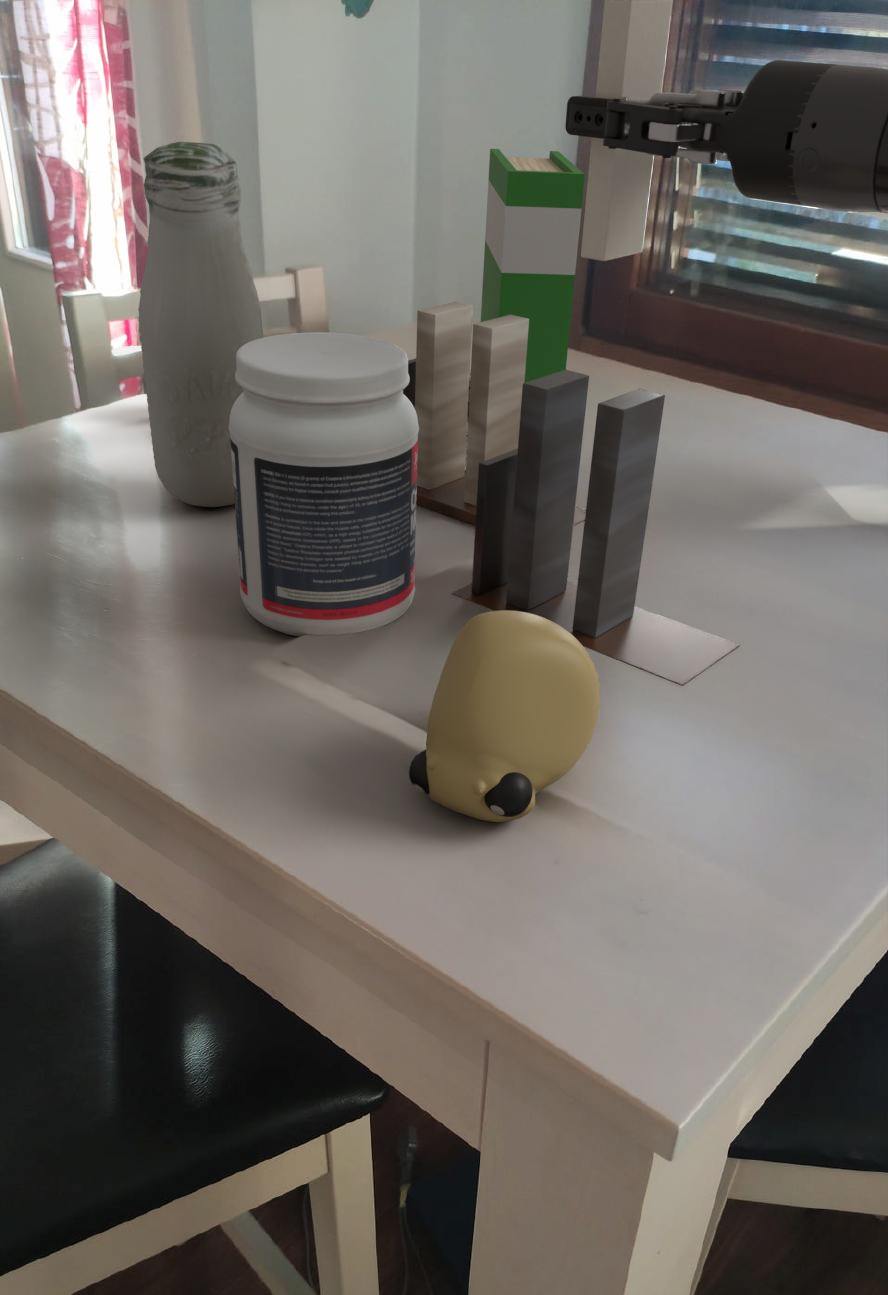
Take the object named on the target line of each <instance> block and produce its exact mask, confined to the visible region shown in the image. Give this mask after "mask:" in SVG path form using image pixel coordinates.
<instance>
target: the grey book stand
mask: <svg viewBox="0 0 888 1295" xmlns="http://www.w3.org/2000/svg"><path fill="white" fill-rule="evenodd" d="M589 383H590V375H588V374H586V373H585V374H584V373H581V372H578V371H573V370H568V369H566V370H563V371H560V372H557V373H554V374H551V375H548V376H545V377H542V378H538V379H535V380H532V381H529V382H526V383H523V387H522V401H521V414H520V427H519V440H518V449H515V450H512V451H510V452H507V453H504V454H502V455H499V456H496V457H494V458H491V459H488V460H486V461H483V462H480V463H479V470H478V488H477V505H476V523H475V525H474V539H473V540H474V541H473V542H474V543H473V557H472V558H473V559H472V577H471V583H470V584H468V585H465V586H463V587H462V588H459V589H457V590H455V591H453V592H451V594H452V595H454V596H457V597H459V598H461V599H464V600H465V601H469V602H471V603H474V604H475V605H479V606H481V607H484V608H487V609H489V610H490V611H501V610H509V611H520V612H526V613H530V614H534V615H537V616H540V617H543V618H546V619H548V620H550V621H552V622H554V623H556V624H558V625H559V626H561V627H562V628H564V629H565V630H567V631H568V632H569V633H570V634H572V635H573V636H574V637H575V638H576V639H577V640H578V641H579V642H580V643H581V645H582V646H583V647H584V648H587V649H589V650H592V651H593V652H597V653H598V654H602V655H604V656H606V657H609V658H611V659H614V660H616V661H619V662H622V663H624V664H627V665H629V666H631V667H634V668H636V669H639V670H642V671H644V672H646V673H649V674H651V675H654V676H656V677H659V678H662V679H664V680H667V681H668V682H672V683H674V684H676V685H680V686H682V687H684V686H685V685H687V684H688V683H690V682H691V681H692V680H693V679H695V678H696V677H698V676H699V675H701V674H702V673H703V672H705V671H707V670H708V669H709V668H711V667H712V666H713V665H715V664H717V663H718V662H719V661H721V660H722V659H723V658H725V657H727V656H728V655H729V654H731V653H732V652H733V651H735V650H736V649H738V648H739V647H741V644H739V643H736V642H735V641H734V642H733V641H732V640H728V639H726V638H723V637H720V636H717V635H715V634H711V633H709V632H707V631H703V630H701V629H698V628H696V627H693V626H690V625H688V624H685V623H682V622H679V621H677V620H674V619H671V618H668V617H665V616H663V615H660V614H657V613H654V612H652V611H650V610H646V609H644V608H642V607H638V606H636V598H637V592H638V586H639V585H638V584H639V578H640V570H641V563H642V557H643V552H644V551H643V550H644V543H645V537H646V530H647V523H648V517H649V509H650V502H651V495H652V490H653V482H654V476H655V467H656V461H657V455H658V447H659V440H660V433H661V427H662V420H663V412H664V406H665V398H666V394H664V393H660V392H657V391H652V390H648V389H644V388H641V387H640V388H637V389H634V390H631V391H629V392H626V393H623V394H621V395H618V396H615V397H612V398H610V399H609V398H608V399H607V400H604V401H601V402H599V403H597V409H596V418H595V426H594V428H595V429H594V436H593V443H592V444H593V445H592V454H591V462H590V471H589V480H588V488H587V498H586V506H585V509H586V514H585V521H584V524H583V531H582V532H583V533H582V542H581V549H580V558H579V568H578V576H577V577H578V579H577V583H574V582H571V581H568V577H569V569H570V568H569V567H570V560H571V558H570V557H571V549H572V540H573V531H574V526H573V522H574V513H575V506H576V502H577V492H578V485H579V484H578V483H579V475H580V466H581V456H582V449H583V448H582V447H583V438H584V437H583V436H584V430H585V429H584V428H585V420H586V409H587V402H588V401H587V400H588V390H589Z"/></svg>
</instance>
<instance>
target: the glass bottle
mask: <svg viewBox="0 0 888 1295" xmlns="http://www.w3.org/2000/svg"><path fill="white" fill-rule="evenodd" d="M143 162H144V170H145V178H144V181H143V190H144V196H145V199H146V202H147V204H148V212H149V224H148V230H147V232H148V236H147V242H146V244H147V253H146V258H145V262H144V267H143V273H142V277H141V285H140V290H139V294H140V295H139V303H138V325H139V326H138V328H139V329H138V330H139V339H140V348H141V358H142V368H143V376H144V385H145V394H146V403H147V412H148V419H149V428H150V437H151V444H152V453H153V461H154V467H155V471H156V475H157V477H158V479H159V481H160V482H161V484H162V486H163V487H164V489H165V490H166V491H167V492H168V493H169V494H170V495H171V496H172V497H174V498H175V499H177V500H178V501H181V502H183V503H185V504H187V505H191V506H195V507H204V508H219V507H227V506H231V505H235V498H234V484H233V469H232V455H231V442H230V432H229V418H230V413H231V409H232V407H233V405H234V403H235V401H236V400H237V398H238V397H239V396H240V395H241V394H242V393H243V392H244V391H243V388H242V386H240V385H239V384H238V383H237V382H236V380H235V373H236V371H237V366H236V353H237V351H238V350H239V349H240V347H242V346H243V345H244V344H246V343H248V342H251V341H253V340H256V339H260V338H264V329H263V317H262V316H263V315H262V308H261V304H260V299H259V294H258V290H257V287H256V284H255V281H254V276H253V271H252V269H251V266H250V261H249V257H248V253H247V250H246V247H245V245H244V241H243V234H242V226H241V220H240V219H241V218H240V208H241V202H242V192H241V185H240V179H239V175H238V174H239V173H238V168H237V162H236V160H235V159H233V158H232V156H231V155H230V154H229V153H228V152H227V151H226V150H225V149H223V148H222V147H219V145H218V144H215V143H210V142H209V143H207V142H192V141H175V142H171V143H168V144H164V145H161V146H157V147H155V149H153V150H152V151H150V153H148V154H147V155H146V156H144V157H143Z"/></svg>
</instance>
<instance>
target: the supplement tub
mask: <svg viewBox="0 0 888 1295" xmlns="http://www.w3.org/2000/svg"><path fill="white" fill-rule="evenodd" d="M408 360H409V356H408V354H407V352H406V351H405V350H404V349H403V348H401V347H400V346H398V345H396V344H394V343H393V342H390V341H387V340H383V339H380V338H375V337H370V336H367V335H360V334H351V333H343V332H341V333H340V332H324V331H323V332H322V331H321V332H318V331H316V332H315V331H314V332H313V331H312V332H309V331H308V332H291V333H282V334H281V333H280V334H275V335H270V336H265V337H264V336H263V338H260V339H256V340H253V341H251V342H248V343H246V344H244V345H243V346H242V347H240V349H239V350H238V351H237V353H236V366H237V371H236V373H235V380H236V382H237V383H238V384H239V385H240V386H242V388H243V391H244V392H243V393H242V394H241V395H240V396H239V397H238V398H237V400H236V401H235V403H234V405H233V407H232V409H231V413H230V418H229V432H230V442H231V455H232V469H233V484H234V498H235V504H234V511H235V525H236V539H237V540H236V541H237V553H238V568H239V583H240V587H239V588H240V589H239V592H240V597H241V599H242V600H241V601H242V602H243V604H244V607H245V609H246V610H247V611H248V612H249V614H250V615H251V616H252V617H253V619H255V620H257V621H258V622H259V623H260V624H262V625H264V626H265V627H267V628H269V629H272V630H274V631H277V632H280V633H283V634H285V635H290V636H294V637H299V638H301V637H303V636H305V635H311V636H341V635H351V634H357V633H363V632H368V631H371V630H375V629H379V628H381V627H384V626H386V625H388V624H390V623H392V622H394V621H396V620H398V619H400V618H401V617H402V616H403V615H404V614H405V613H406V612H407V611H408V610H409V608H411V605H412V602H413V599H414V596H415V593H416V586H415V582H416V581H415V580H416V577H415V574H416V541H417V540H416V537H417V536H416V534H417V504H416V497H417V454H418V432H419V425H418V419H417V414H416V411H415V409H414V407H413V405H412V403H411V402H410V400H409V399H408V398H407V397H406V396H405V395H404V394H403V389H404V388H405V387H406V386H407V385H408V384H409V381H410V377H409V374H408Z"/></svg>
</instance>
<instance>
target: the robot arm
mask: <svg viewBox="0 0 888 1295" xmlns="http://www.w3.org/2000/svg"><path fill="white" fill-rule="evenodd" d="M565 131H566V133H567V134H568V135H571V136H578V137H586V138H592V137H593V138H601V139H604V140H603V146H608V148H609V149H616V148H620V149H626V150H632V151H637V152H643V153H647V154H648V155H654V157H656V156H657V157H662V159H671V158H681V159H687V160H688V162H689V163H692V164H698V165H699V164H700V165H701V164H702V165H716V164H717V161H721V162H729V164H730V168H731V177H732V180H733V183H734V185H735V187H736V189H737V191H738V192H739V193H740V194H741V195H742V196H743V197H745V198H747V199H749V200H756V201H764V202H769V203H770V202H771V203H776V204H784V205H791V206H797V207H805V208H812V209H820V210H826V211H834V212H842V213H882V214H888V68H884V67H883V68H882V67H875V66H863V65H850V64H836V63H822V62H807V61H796V60H795V61H794V60H781V59H776V60H772V61H769V62H767V63H765V64H764V65H763V66H761V67H760V68H759V69H758V70H757V72H756V73H755V74H754V75H753V77H752V78H751V79H750V80H749V82H748V84H747V86H746V88H745V89H738V88H720V89H718V90H713V89H712V90H711V89H691V90H689V92H688V93H683V92H668V91H667V92H666V91H662V92H659V93H656V94H654V95H653V96H652V97H651V98H650V100H634V99H628V97H620V99H616V98H614V99H606V98H596V96H585V95H573V96H570V97H569V98H568V100H567V103H566V114H565Z"/></svg>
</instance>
